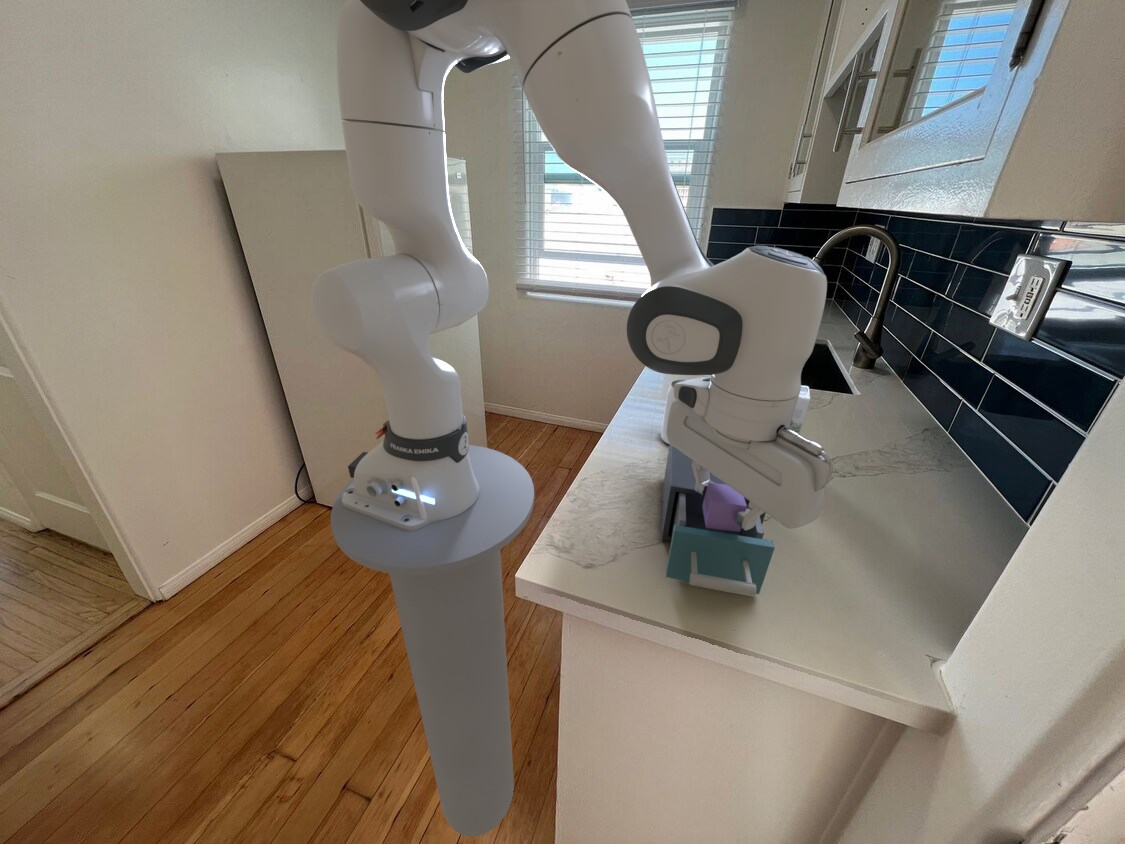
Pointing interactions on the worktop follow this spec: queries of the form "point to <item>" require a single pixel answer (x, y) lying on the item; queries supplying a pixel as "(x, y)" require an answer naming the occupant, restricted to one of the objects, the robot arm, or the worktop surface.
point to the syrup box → (800, 409)
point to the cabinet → (679, 486)
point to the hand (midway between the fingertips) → (722, 508)
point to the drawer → (716, 551)
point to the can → (668, 409)
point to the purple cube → (722, 507)
